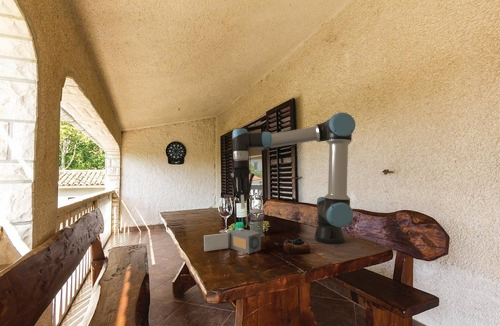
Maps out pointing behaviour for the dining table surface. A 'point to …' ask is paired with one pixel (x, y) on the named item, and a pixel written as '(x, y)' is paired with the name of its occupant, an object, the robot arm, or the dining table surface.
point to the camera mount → (239, 225)
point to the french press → (256, 221)
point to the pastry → (296, 246)
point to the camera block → (245, 240)
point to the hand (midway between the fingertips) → (243, 208)
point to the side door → (216, 241)
